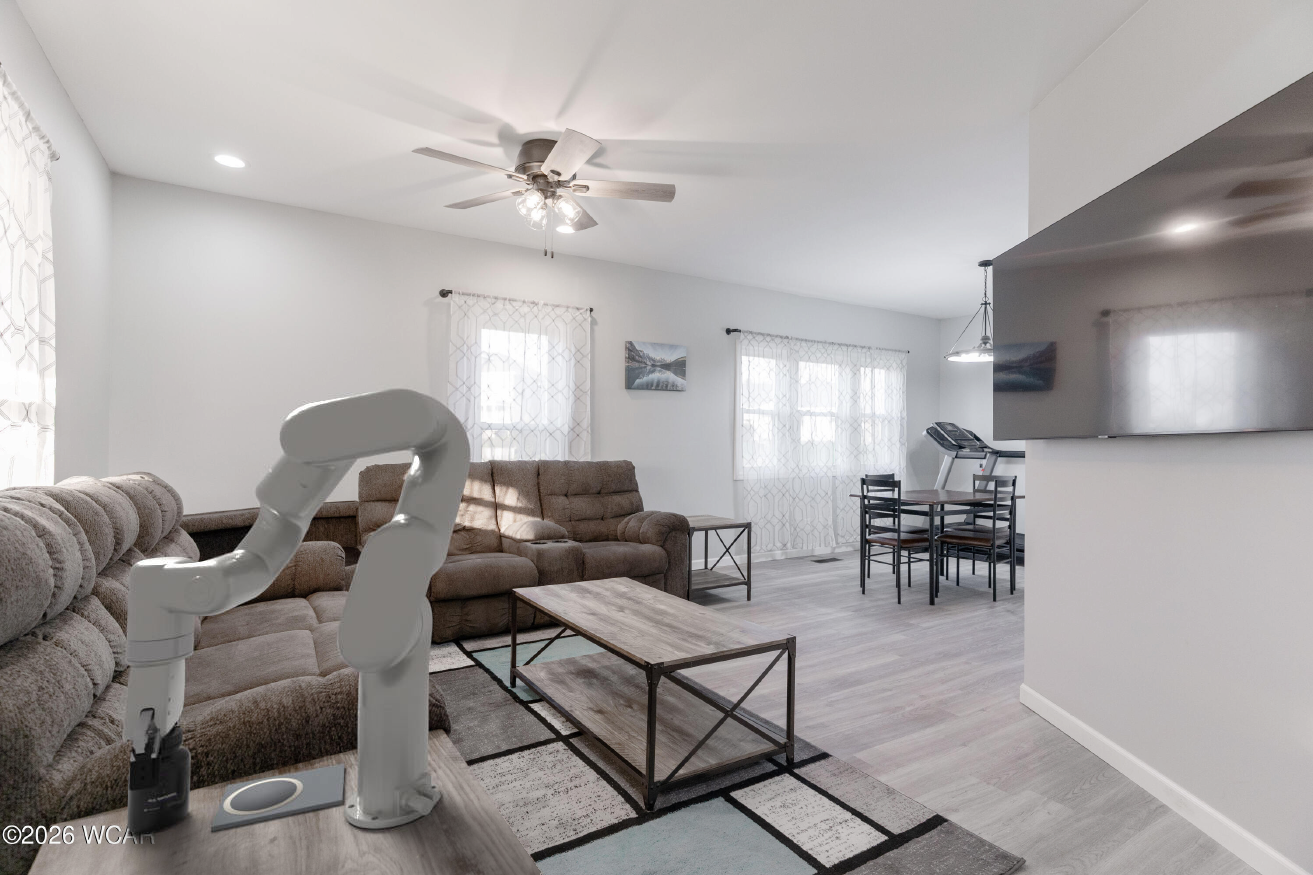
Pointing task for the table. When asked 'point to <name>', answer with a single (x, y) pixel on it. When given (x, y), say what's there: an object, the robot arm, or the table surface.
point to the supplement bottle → (163, 789)
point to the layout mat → (280, 796)
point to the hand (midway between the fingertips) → (155, 770)
